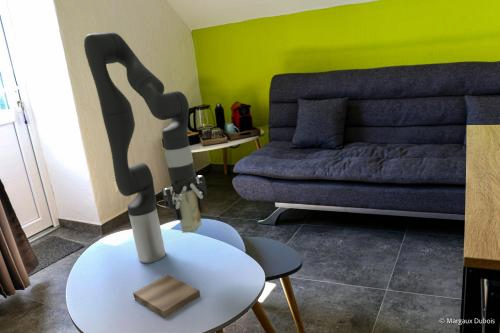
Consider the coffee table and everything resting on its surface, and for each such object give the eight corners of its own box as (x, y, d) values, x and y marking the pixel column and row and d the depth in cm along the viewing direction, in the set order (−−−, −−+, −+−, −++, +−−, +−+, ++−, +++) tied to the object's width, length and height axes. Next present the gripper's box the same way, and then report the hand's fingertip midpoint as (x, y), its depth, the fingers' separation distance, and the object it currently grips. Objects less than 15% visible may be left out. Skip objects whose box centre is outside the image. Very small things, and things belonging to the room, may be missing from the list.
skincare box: (195, 232, 126) (188, 193, 123) (182, 233, 127) (174, 194, 124) (202, 223, 132) (195, 186, 129) (189, 224, 133) (182, 187, 130)
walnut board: (134, 298, 125) (132, 292, 124) (168, 280, 133) (167, 274, 132) (164, 318, 114) (163, 311, 113) (200, 296, 121) (199, 290, 121)
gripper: (192, 154, 131) (200, 204, 136) (151, 167, 122) (162, 221, 126) (207, 156, 126) (216, 208, 130) (166, 170, 117) (177, 226, 121)
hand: (189, 214), depth 128 cm, fingers closed on skincare box, 7 cm apart
